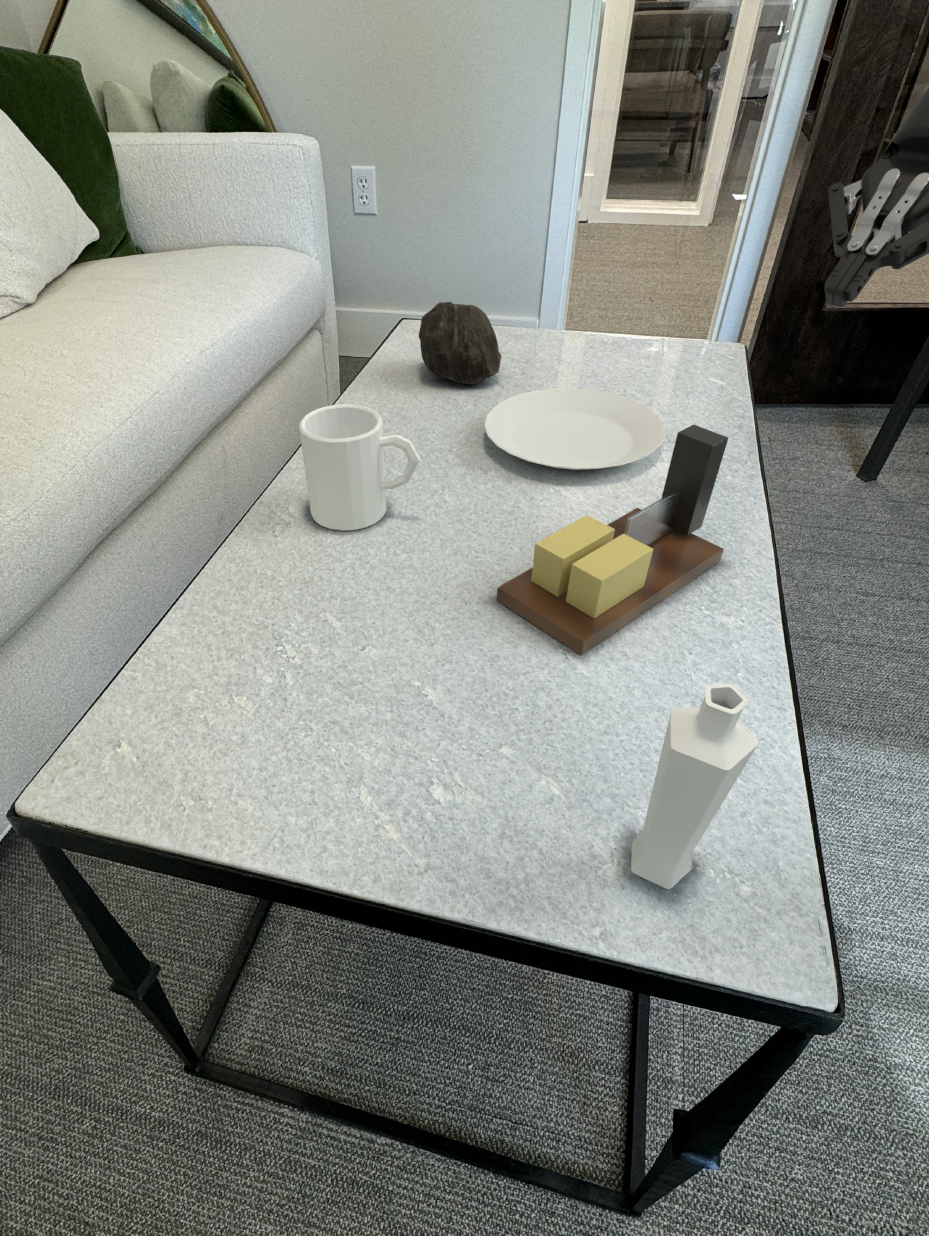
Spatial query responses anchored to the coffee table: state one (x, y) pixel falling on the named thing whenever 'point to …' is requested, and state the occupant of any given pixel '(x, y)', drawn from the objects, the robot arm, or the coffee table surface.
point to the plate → (574, 428)
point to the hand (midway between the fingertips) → (833, 300)
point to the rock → (459, 343)
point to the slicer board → (666, 574)
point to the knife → (682, 487)
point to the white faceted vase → (692, 782)
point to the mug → (349, 465)
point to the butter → (590, 565)
